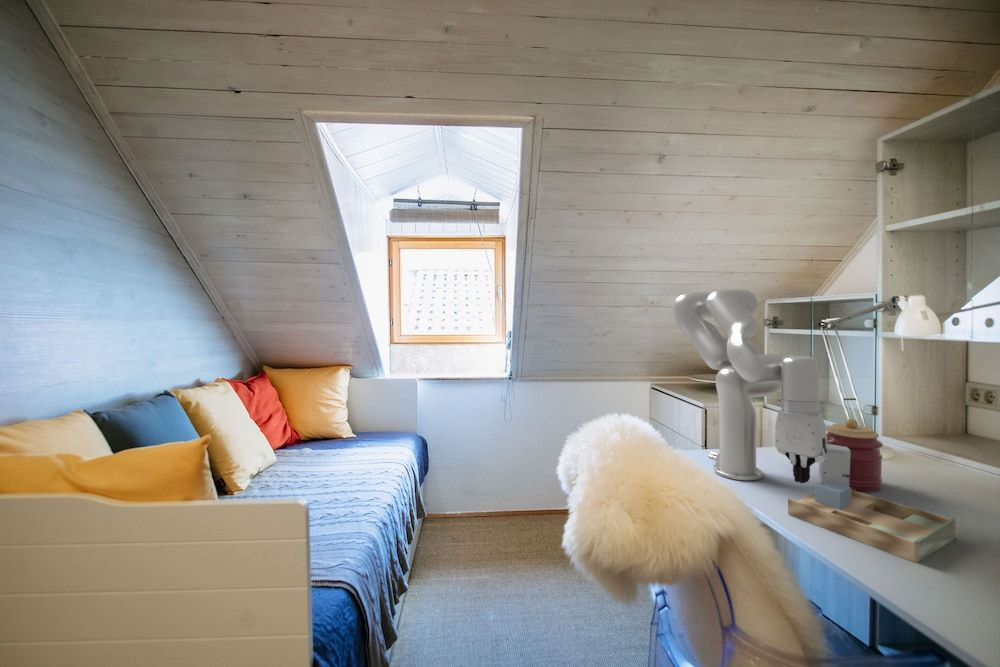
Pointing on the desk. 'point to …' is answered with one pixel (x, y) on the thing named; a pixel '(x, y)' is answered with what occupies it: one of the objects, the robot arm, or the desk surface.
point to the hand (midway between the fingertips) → (801, 481)
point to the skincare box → (836, 465)
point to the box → (880, 524)
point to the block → (833, 495)
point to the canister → (859, 453)
